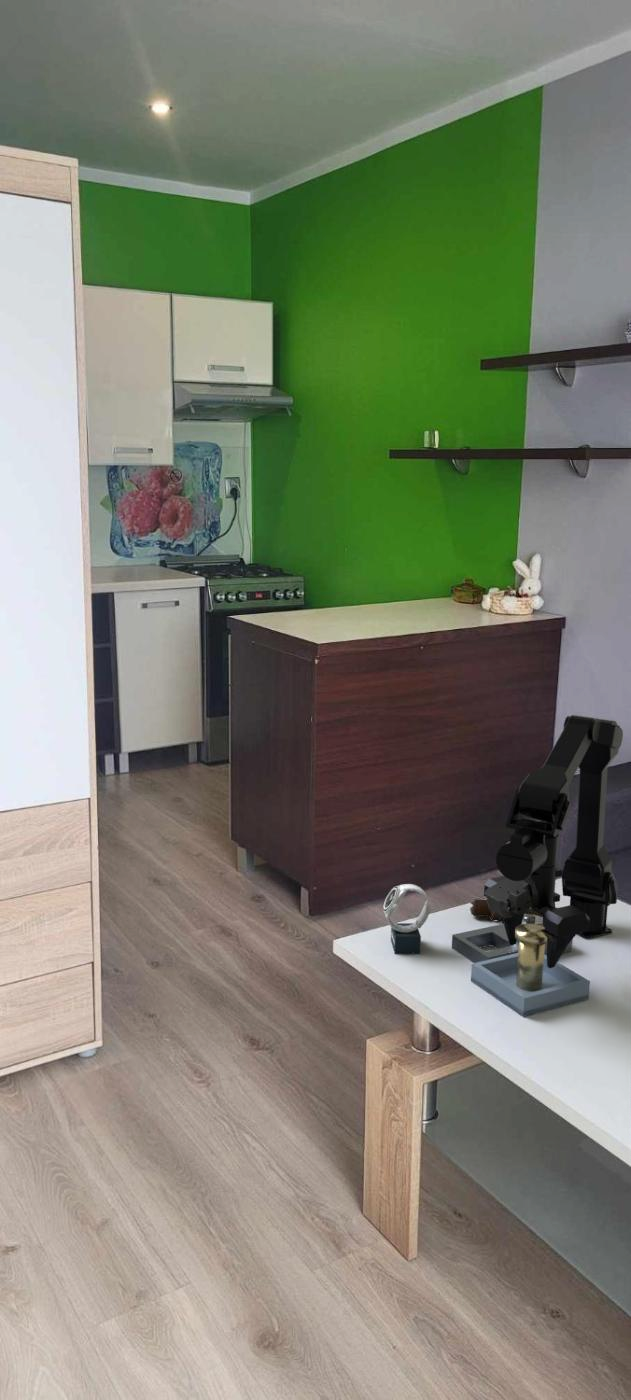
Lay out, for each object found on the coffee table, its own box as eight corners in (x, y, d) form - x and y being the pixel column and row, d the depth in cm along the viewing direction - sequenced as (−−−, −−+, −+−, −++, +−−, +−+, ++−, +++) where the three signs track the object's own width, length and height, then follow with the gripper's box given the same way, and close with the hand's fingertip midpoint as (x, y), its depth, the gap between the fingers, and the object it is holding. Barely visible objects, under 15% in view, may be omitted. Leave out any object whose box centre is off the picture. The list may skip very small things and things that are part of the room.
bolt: (469, 925, 197) (551, 925, 197) (473, 922, 192) (556, 921, 192) (468, 893, 199) (548, 893, 199) (471, 889, 194) (554, 889, 194)
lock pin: (531, 975, 171) (535, 921, 170) (553, 989, 167) (557, 934, 165) (504, 981, 169) (508, 927, 167) (526, 996, 164) (530, 940, 162)
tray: (533, 965, 177) (535, 948, 176) (588, 999, 166) (590, 981, 165) (470, 981, 171) (471, 963, 170) (523, 1016, 159) (524, 998, 159)
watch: (379, 940, 185) (381, 880, 183) (425, 940, 186) (428, 880, 184) (383, 953, 180) (385, 892, 178) (430, 953, 180) (433, 892, 178)
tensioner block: (533, 930, 191) (535, 901, 190) (571, 951, 183) (573, 921, 181) (451, 948, 183) (453, 918, 182) (487, 971, 174) (489, 940, 173)
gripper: (459, 850, 168) (454, 942, 171) (536, 890, 152) (529, 991, 155) (514, 840, 173) (509, 930, 176) (595, 878, 157) (587, 976, 160)
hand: (531, 955), depth 167 cm, fingers open, 9 cm apart
